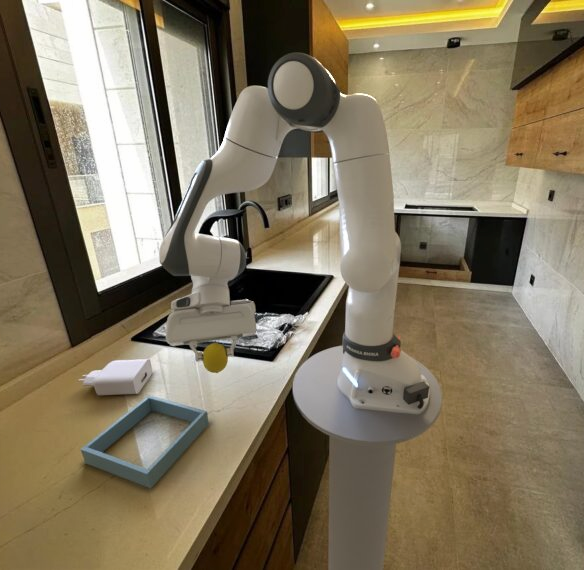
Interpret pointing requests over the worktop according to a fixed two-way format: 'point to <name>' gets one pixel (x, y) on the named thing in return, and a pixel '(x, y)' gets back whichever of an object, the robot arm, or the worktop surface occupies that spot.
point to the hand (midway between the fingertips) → (214, 358)
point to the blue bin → (127, 421)
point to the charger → (120, 377)
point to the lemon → (215, 358)
